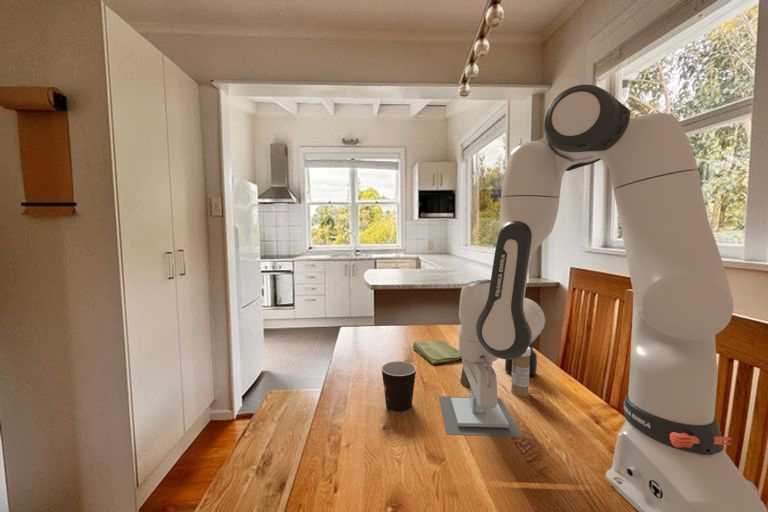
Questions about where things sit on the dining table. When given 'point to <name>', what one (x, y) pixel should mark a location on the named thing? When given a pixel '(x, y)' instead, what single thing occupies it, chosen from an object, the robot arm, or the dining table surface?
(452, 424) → the mat
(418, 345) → the washcloth
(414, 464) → the dining table surface
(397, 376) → the coffee mug
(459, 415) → the lid
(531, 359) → the ink bottle
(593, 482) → the dining table surface
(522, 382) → the sprinkles bottle
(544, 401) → the dining table surface
